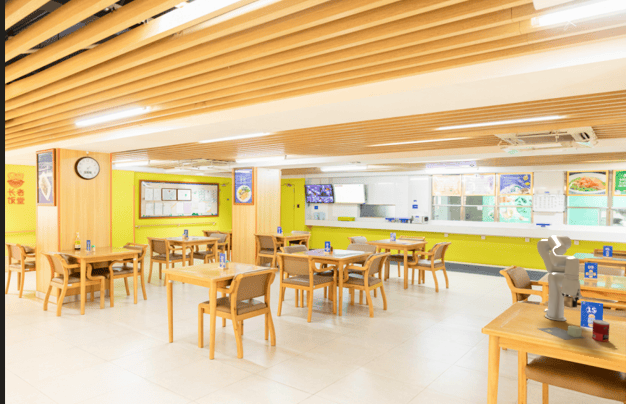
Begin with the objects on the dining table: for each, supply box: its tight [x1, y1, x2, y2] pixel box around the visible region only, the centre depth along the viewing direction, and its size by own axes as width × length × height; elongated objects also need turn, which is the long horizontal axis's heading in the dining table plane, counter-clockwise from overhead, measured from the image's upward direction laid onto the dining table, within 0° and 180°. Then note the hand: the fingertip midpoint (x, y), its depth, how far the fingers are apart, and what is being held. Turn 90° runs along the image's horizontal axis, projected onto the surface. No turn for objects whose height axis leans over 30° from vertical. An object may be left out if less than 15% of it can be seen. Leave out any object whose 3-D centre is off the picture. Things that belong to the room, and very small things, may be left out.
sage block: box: [567, 325, 583, 337], centre depth 243 cm, size 5×5×5 cm
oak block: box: [564, 295, 578, 309], centre depth 257 cm, size 5×5×6 cm
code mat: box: [538, 326, 586, 341], centre depth 246 cm, size 20×16×1 cm
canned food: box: [591, 319, 610, 343], centre depth 237 cm, size 8×8×11 cm
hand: (570, 305), depth 257 cm, fingers closed on oak block, 5 cm apart
